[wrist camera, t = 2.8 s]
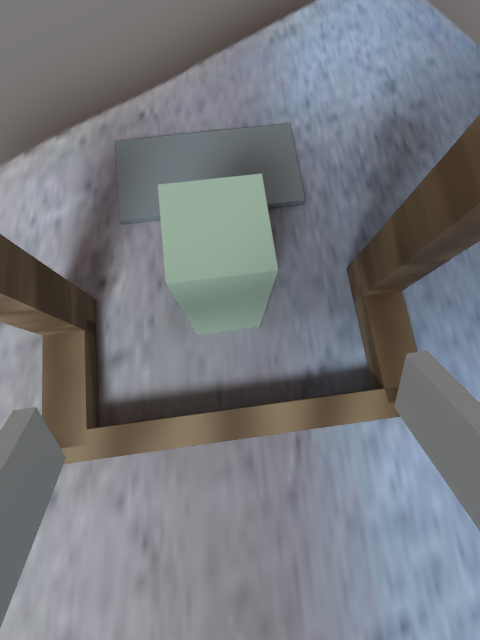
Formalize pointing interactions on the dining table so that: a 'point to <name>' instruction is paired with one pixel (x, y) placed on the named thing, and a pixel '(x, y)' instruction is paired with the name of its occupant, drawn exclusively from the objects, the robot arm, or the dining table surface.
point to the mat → (205, 165)
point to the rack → (238, 423)
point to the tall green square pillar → (218, 251)
